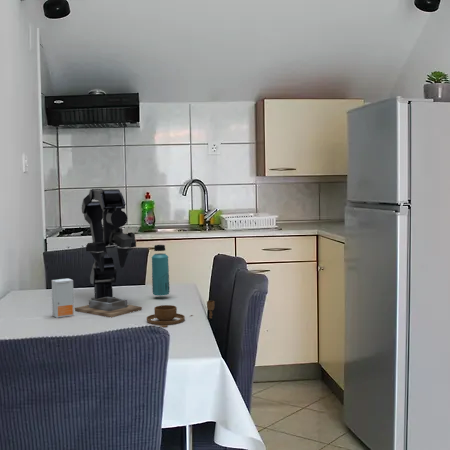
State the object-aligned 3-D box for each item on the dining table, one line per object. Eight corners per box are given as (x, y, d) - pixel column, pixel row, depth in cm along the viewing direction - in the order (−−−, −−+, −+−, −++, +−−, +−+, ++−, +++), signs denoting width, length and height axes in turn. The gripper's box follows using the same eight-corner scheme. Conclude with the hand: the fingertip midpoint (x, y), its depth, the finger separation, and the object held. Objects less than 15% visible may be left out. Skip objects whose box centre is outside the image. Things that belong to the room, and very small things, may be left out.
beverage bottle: (166, 299, 225) (165, 245, 224) (149, 299, 226) (148, 245, 225) (172, 296, 232) (170, 243, 230) (155, 295, 233) (154, 243, 231)
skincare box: (56, 318, 197) (55, 281, 197) (52, 315, 201) (51, 279, 200) (74, 315, 201) (73, 279, 200) (70, 313, 204) (69, 278, 203)
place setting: (159, 315, 202) (158, 297, 202) (216, 318, 197) (216, 300, 196) (136, 327, 186) (136, 308, 185) (199, 332, 180) (198, 312, 179)
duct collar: (74, 310, 208) (74, 300, 208) (106, 303, 219) (105, 294, 219) (111, 317, 197) (110, 306, 197) (141, 309, 209) (141, 299, 208)
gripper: (106, 228, 201) (107, 275, 202) (146, 224, 216) (147, 268, 217) (84, 226, 208) (85, 272, 209) (124, 223, 222) (125, 265, 224)
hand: (112, 269), depth 214 cm, fingers open, 9 cm apart
